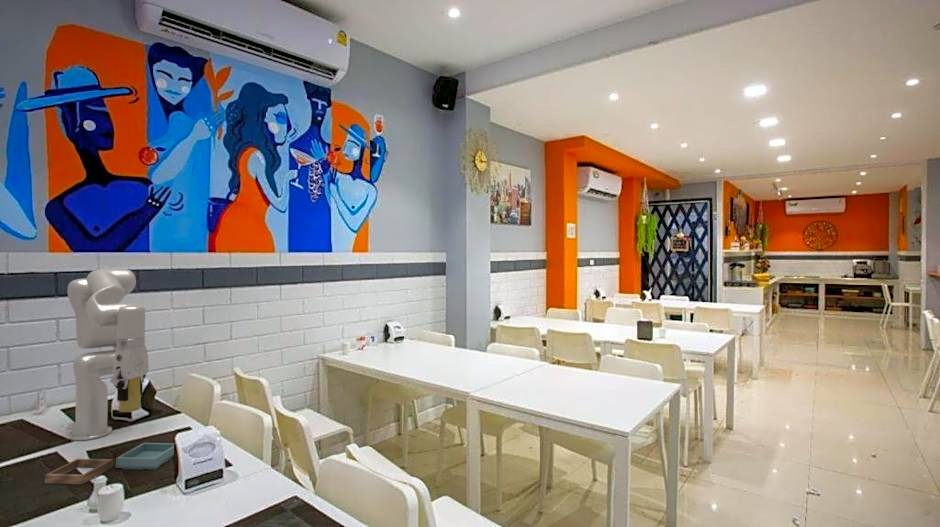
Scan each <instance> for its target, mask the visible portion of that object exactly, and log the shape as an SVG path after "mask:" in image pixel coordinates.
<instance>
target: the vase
mask: <svg viewBox="0 0 940 527" xmlns="http://www.w3.org/2000/svg"><path fill="white" fill-rule="evenodd" d="M122 379H123V377H122ZM122 383H124V381H122ZM127 388H128V400H127V401H118V402H119V403H118V410H117V411H118V412H120V413H131V412H136V411H138V410H140V409H142V401H141V400H142V395H141V394H140V377H137V378H134V379H131V380H129V381H128V384H127Z"/></svg>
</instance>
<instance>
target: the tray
mask: <svg viewBox="0 0 940 527" xmlns="http://www.w3.org/2000/svg"><path fill="white" fill-rule="evenodd" d="M174 444H175V443H169V442H167V443H166V442H143V443H141V444H139V445H137V446H135V447H134V448H132V449H130V450H128V451H126V452H125V453H122V454H120V455H119V456H118V457H116V458H115V469H116V468H122V469H121V470H143V469H148V470H149V471H155V470H156V469H158V468H160V467H161V466H162V464H163V463H164V464H166V463H167V462H168V460H169V461H170V460H172V459H173V458H174V457H173V455H174ZM172 457H173V458H172ZM171 458H172V459H171ZM165 462H166V463H165ZM164 464H163V465H164ZM160 465H161V466H160Z"/></svg>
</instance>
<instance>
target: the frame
mask: <svg viewBox="0 0 940 527" xmlns="http://www.w3.org/2000/svg"><path fill="white" fill-rule="evenodd" d="M113 460H114V459H110V458H109V459H108V458H107V459H106V458H102V459H101V458H76V459H73V460H72V461H70V462H68V463H67V464H63V465H62V466H60V467H58V468H56V469H54V470H52V471H50V472H48V473H46V474H44V484H58V485H84V484H86V483H87V482H89V481H92V480H93V479H95V478H96V477H98V476H100V475H101V474H103V473H105V472H107V471H109V470H110V469H112V468H114V461H113ZM77 468H87V469H90V470H88V471H87V472H85V473H83V474H69V473H70V472H72V471H74V470H76V469H77ZM108 469H109V470H108ZM95 476H96V477H95ZM94 477H95V478H94Z"/></svg>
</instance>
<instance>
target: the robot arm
mask: <svg viewBox="0 0 940 527" xmlns="http://www.w3.org/2000/svg"><path fill="white" fill-rule="evenodd" d="M136 284H137V280H136V276H135V274H134V272H133V271H132V270H130V269H126V268H108V269H107V268H101V269H95V270H93V271H91V272H89V273H88V274H87V276H86V278H77V279H74V280H72V281H70V282H69V283H68V285H67V297H68V300H69V303H70V305H71V307H72V309H73V312H74V316H75V332H76V343H77V346H78V347H79V348H81V349H83V350H87V349H101V348H109V347H111V348H113V349H110V350H99V351H91V352H86V353H81V354H80V355H77V356H76V357H75V358H74V360H73V361H72V370H73V374H74V380H75V381H74V382H75V422H70V423H68V425H67V426H66V430H67V431H69V430H71V431H72V433H70V434H69V438H70V440H72V441H89V440H94V439H99V438H102V437H105V436H107V435H110V434H111V433H112V432H113V427H111V425H110V426H109V425H108V396H109V392H108V390H109V389H108V385H107V384H106V383H105V381H103V380H102V379H101V378H100V377H105V376H110V375H112V377H111V378H110V380H109V382H110V383H111V384H112V385H113V386H114V387H115V389H116V390H117V391H116V392H117V394H116V396H117V397H116V399H117V402H119V401H127V400H128V388H127V384H128V381H129V380H131V379H134V378H137V377H140V394H141V396H142V395H143V383H144V382H145V378H146V376H147V374H148V373H149V354H148V348H147V345H146V308H145V307H144V306H142V305H140V304H139V303H135V302H128V303H127V302H125V303H121V302H122V301H123V300H124V298H125V297H127V295H128V294H130V293H131V292H133V290H134V289H135V287H136ZM122 377H123V379H122ZM122 381H124V383H122Z"/></svg>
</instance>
